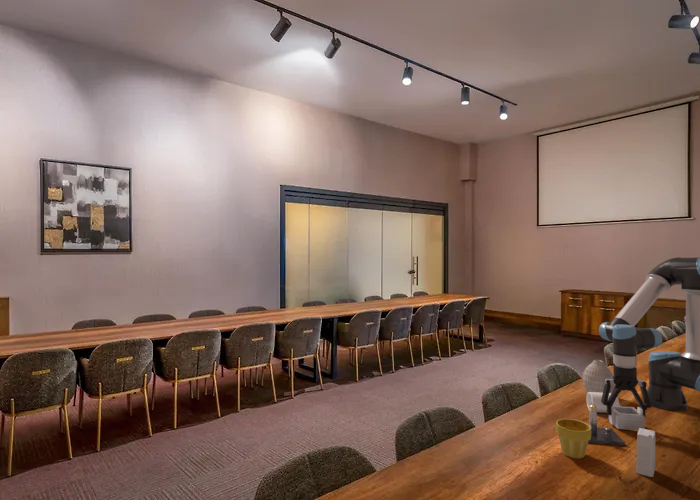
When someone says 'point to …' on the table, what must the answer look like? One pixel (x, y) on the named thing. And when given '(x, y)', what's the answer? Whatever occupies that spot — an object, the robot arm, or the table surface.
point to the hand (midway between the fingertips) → (626, 424)
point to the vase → (597, 377)
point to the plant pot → (573, 437)
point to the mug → (598, 401)
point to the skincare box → (646, 452)
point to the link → (628, 418)
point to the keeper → (602, 431)
